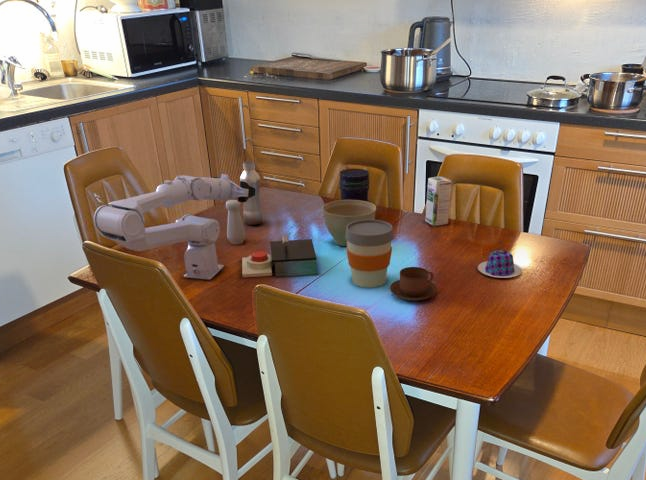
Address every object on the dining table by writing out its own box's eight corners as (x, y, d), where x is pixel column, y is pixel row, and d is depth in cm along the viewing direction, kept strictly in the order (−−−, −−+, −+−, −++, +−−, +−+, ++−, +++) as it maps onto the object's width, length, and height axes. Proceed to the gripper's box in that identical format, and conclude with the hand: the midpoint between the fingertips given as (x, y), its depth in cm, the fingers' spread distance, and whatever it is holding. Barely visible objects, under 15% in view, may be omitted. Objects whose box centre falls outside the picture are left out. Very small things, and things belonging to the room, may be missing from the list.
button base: (242, 277, 176) (241, 268, 174) (242, 260, 186) (241, 251, 184) (274, 275, 177) (273, 266, 175) (272, 258, 187) (271, 249, 185)
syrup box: (424, 221, 214) (426, 177, 206) (439, 218, 216) (442, 175, 208) (433, 226, 209) (436, 182, 202) (448, 224, 211) (452, 180, 204)
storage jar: (374, 215, 219) (374, 171, 212) (359, 223, 212) (359, 178, 205) (349, 210, 224) (349, 167, 216) (334, 218, 217) (333, 173, 209)
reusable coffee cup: (352, 292, 167) (352, 238, 159) (340, 274, 177) (339, 221, 169) (398, 287, 170) (400, 232, 162) (383, 269, 180) (384, 217, 172)
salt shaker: (248, 239, 201) (244, 198, 194) (244, 245, 196) (239, 204, 189) (230, 238, 201) (225, 197, 195) (225, 245, 196) (220, 203, 190)
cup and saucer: (407, 281, 173) (408, 259, 170) (445, 292, 166) (447, 270, 163) (380, 296, 165) (381, 274, 162) (419, 309, 159) (420, 286, 155)
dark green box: (275, 277, 176) (274, 262, 174) (273, 257, 188) (272, 243, 186) (317, 274, 177) (316, 259, 175) (312, 254, 189) (311, 241, 187)
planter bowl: (384, 246, 194) (385, 211, 189) (334, 254, 189) (333, 218, 184) (363, 229, 207) (364, 196, 202) (316, 236, 202) (315, 202, 196)
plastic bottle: (240, 226, 211) (234, 164, 201) (249, 219, 216) (243, 159, 206) (258, 227, 209) (253, 166, 199) (266, 221, 215) (262, 160, 204)
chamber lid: (271, 262, 173) (270, 248, 171) (269, 243, 186) (268, 230, 184) (316, 259, 175) (316, 245, 173) (311, 240, 187) (311, 227, 185)
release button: (252, 263, 178) (251, 257, 177) (251, 257, 182) (251, 251, 181) (267, 262, 179) (267, 256, 178) (267, 256, 182) (266, 250, 181)
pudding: (506, 260, 185) (508, 243, 182) (530, 276, 175) (533, 258, 172) (469, 266, 181) (471, 249, 178) (492, 283, 171) (494, 264, 169)
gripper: (235, 177, 170) (265, 179, 181) (192, 170, 176) (224, 172, 187) (233, 204, 172) (262, 204, 183) (191, 196, 178) (222, 197, 189)
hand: (243, 190), depth 186 cm, fingers open, 7 cm apart
